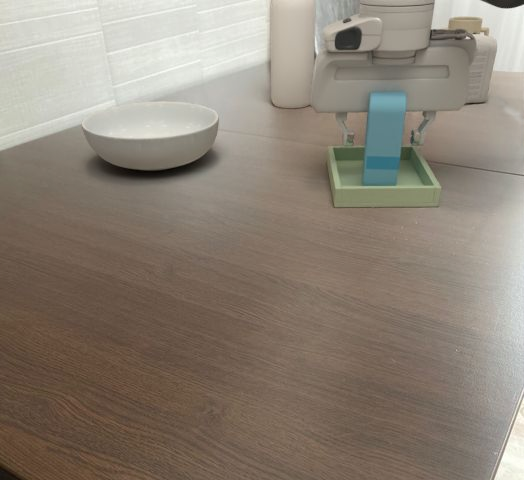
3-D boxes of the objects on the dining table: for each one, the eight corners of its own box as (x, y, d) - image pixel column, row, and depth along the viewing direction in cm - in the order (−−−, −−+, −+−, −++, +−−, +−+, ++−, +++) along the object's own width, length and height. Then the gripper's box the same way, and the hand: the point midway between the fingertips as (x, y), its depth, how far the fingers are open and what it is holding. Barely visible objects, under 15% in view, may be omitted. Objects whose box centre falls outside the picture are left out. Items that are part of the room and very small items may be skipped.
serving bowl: (145, 196, 77) (138, 146, 73) (65, 165, 89) (54, 120, 85) (248, 158, 89) (246, 113, 85) (165, 135, 101) (160, 94, 97)
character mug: (433, 86, 126) (443, 20, 118) (428, 79, 132) (438, 16, 124) (482, 86, 125) (495, 20, 117) (475, 79, 131) (488, 16, 123)
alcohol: (314, 99, 120) (320, -76, 101) (310, 109, 113) (315, -77, 94) (274, 98, 121) (273, -75, 103) (268, 108, 114) (265, -75, 96)
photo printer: (478, 98, 117) (491, 31, 109) (489, 103, 114) (503, 34, 106) (433, 101, 115) (443, 34, 108) (442, 106, 112) (454, 37, 105)
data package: (395, 195, 74) (407, 99, 67) (361, 193, 75) (369, 99, 68) (393, 164, 84) (403, 78, 76) (362, 163, 84) (370, 78, 77)
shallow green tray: (413, 161, 86) (416, 144, 85) (438, 206, 72) (441, 187, 71) (326, 162, 87) (327, 145, 85) (334, 207, 73) (335, 188, 71)
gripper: (472, 24, 70) (452, 136, 78) (311, 28, 71) (308, 138, 79) (487, 32, 65) (463, 151, 73) (313, 35, 66) (309, 153, 74)
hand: (381, 144), depth 76 cm, fingers open, 8 cm apart
